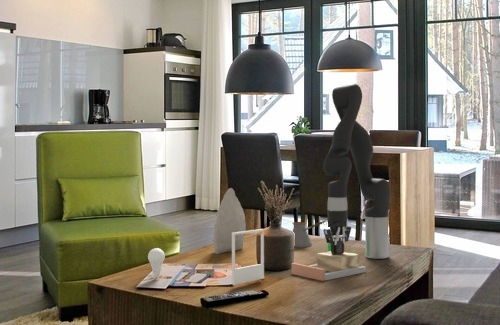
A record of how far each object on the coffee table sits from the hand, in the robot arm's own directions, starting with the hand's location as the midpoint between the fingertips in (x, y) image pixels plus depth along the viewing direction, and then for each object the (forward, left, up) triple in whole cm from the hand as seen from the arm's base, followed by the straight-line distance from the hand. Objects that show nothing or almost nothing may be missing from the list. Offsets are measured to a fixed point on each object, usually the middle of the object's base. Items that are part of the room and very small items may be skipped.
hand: (337, 253), depth 233 cm
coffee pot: (-23, -39, -7) cm, 46 cm away
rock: (+10, -55, -7) cm, 56 cm away
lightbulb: (+59, -35, -7) cm, 69 cm away
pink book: (+4, 0, -7) cm, 8 cm away
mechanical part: (-22, -16, -7) cm, 28 cm away
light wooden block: (0, 0, -6) cm, 6 cm away
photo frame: (+37, -9, -7) cm, 39 cm away
